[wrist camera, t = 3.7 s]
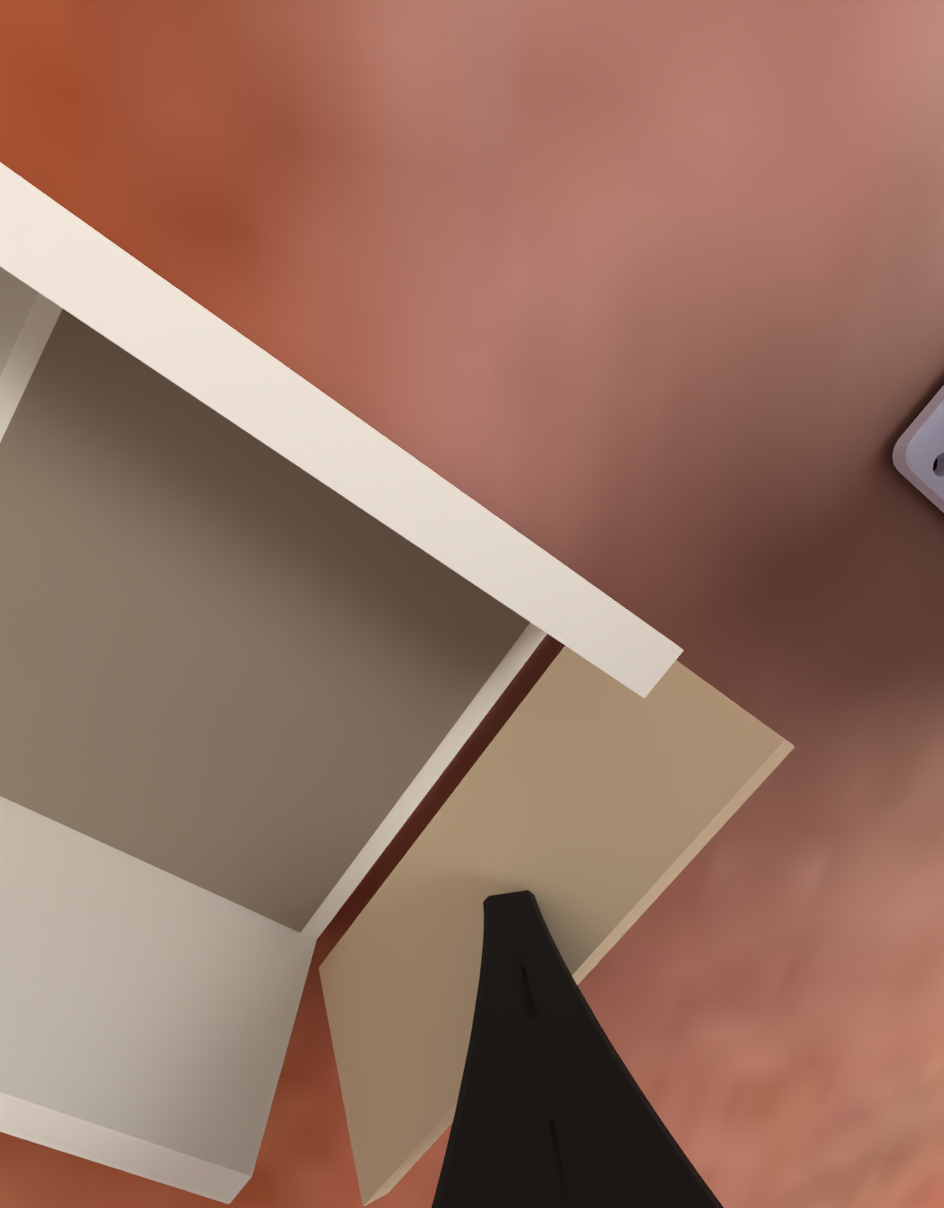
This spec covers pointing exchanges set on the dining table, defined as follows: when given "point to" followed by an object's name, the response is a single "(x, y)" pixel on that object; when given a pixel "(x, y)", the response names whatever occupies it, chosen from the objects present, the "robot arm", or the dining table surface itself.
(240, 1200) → the dining table surface
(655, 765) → the flap
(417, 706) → the carton
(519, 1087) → the robot arm
